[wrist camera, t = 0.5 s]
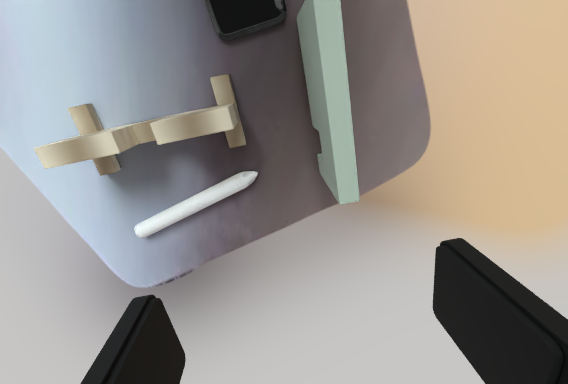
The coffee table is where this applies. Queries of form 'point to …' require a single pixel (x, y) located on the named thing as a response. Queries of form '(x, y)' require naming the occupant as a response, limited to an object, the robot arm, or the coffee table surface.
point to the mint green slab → (329, 94)
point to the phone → (244, 16)
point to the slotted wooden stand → (143, 131)
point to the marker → (195, 203)
